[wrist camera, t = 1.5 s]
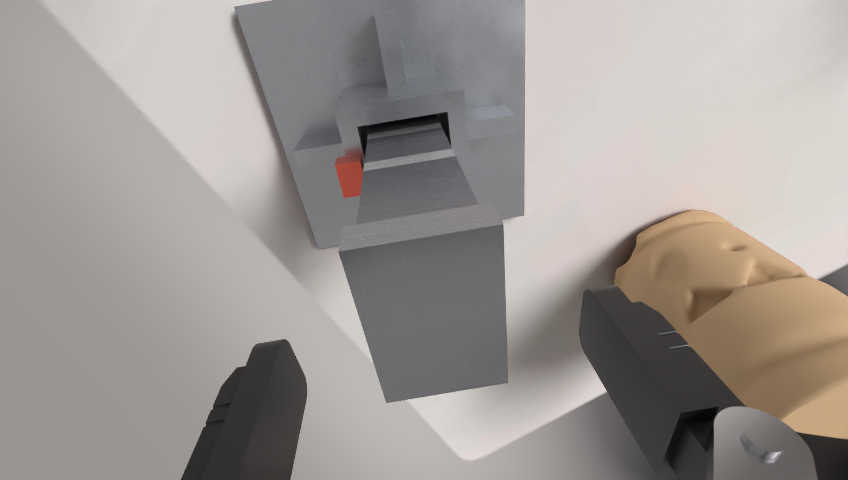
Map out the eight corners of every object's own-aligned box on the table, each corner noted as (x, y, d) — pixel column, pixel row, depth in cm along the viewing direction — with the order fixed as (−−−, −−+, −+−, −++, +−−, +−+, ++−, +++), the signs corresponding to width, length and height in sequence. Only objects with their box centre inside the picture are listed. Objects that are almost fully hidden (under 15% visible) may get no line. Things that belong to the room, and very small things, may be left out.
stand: (239, 6, 24) (168, 6, 16) (520, -40, 24) (586, -63, 16) (320, 243, 33) (300, 315, 26) (520, 210, 33) (561, 272, 26)
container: (686, 183, 33) (939, 331, 18) (752, 249, 38) (995, 410, 23) (579, 277, 38) (709, 457, 23) (649, 325, 43) (795, 501, 28)
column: (368, 92, 26) (338, 251, 9) (426, 82, 26) (503, 224, 9) (385, 174, 29) (386, 403, 12) (436, 165, 29) (507, 382, 12)
